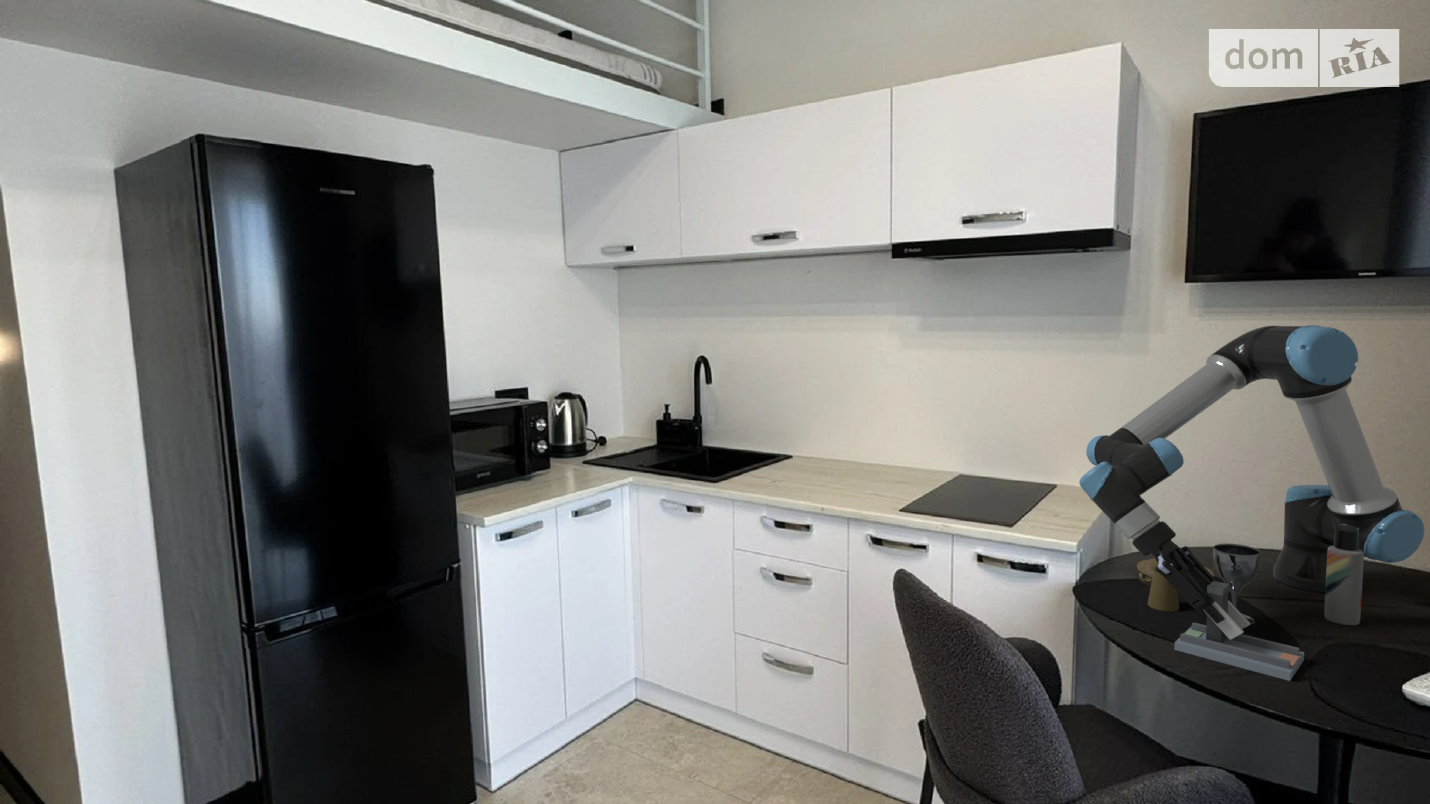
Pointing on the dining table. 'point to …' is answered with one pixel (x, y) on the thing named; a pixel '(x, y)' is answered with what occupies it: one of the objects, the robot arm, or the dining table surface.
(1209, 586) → the handle
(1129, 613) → the dining table surface
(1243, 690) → the dining table surface
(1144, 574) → the wood slice
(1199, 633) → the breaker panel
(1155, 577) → the cork
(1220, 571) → the wine glass
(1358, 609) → the lotion bottle
